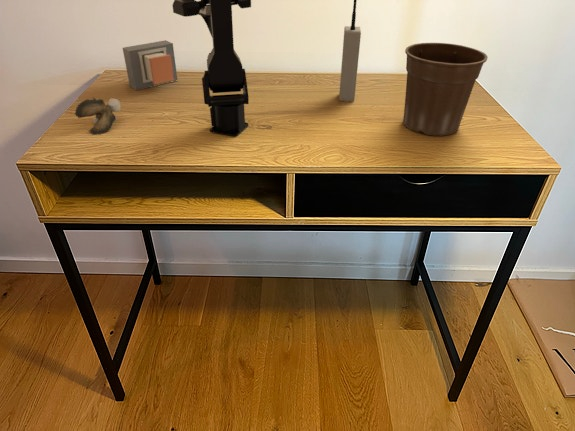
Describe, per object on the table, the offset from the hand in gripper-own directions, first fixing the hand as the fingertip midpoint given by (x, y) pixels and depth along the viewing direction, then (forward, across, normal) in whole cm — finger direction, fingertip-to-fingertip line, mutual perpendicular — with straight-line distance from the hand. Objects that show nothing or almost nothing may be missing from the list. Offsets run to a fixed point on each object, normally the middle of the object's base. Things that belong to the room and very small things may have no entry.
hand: (215, 41), depth 115 cm
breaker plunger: (+10, +12, -12) cm, 20 cm away
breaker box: (+12, +12, -14) cm, 22 cm away
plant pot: (+12, -25, +49) cm, 56 cm away
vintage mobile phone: (+12, -22, +26) cm, 36 cm away
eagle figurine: (+12, +33, +4) cm, 36 cm away
